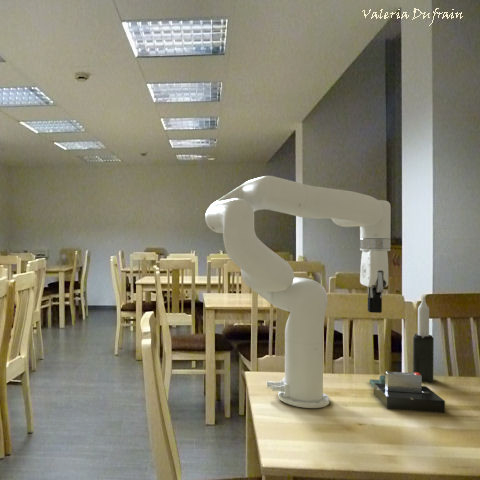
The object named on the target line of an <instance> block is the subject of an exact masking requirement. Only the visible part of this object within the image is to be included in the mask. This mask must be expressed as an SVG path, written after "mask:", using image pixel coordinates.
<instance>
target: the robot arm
mask: <svg viewBox="0 0 480 480" xmlns="http://www.w3.org/2000/svg"><path fill="white" fill-rule="evenodd" d="M261 210H262V211H263V210H266V211H267V210H268V211H272V212H278V213H282V214H286V215H291V216H295V217H299V218H304V219H313V220H314V219H316V220H318V219H319V220H320V219H330V220H331V221H332V222H333V223H334V224H335V225H336V226H339V227H343V228H352V227H353V228H354V227H359V251H361V258H360V270H359V271H360V273H359V283H360V284H361V285H362V286H364V287H366V289H367V312H369V313H371V314H372V313H374V314H375V313H376V314H381V313H382V312H383V293H384V288H387V287H388V286H389V257H388V256H389V255H388V252H391V232H392V231H391V229H392V228H391V220H392V218H391V217H392V216H391V213H392V212H391V211H392V209H391V203H390V202H389V201H388V200H384V199H377V198H375V197H373V196H371V195H368V194H364V193H361V192H356V191H352V190H345V189H338V188H330V187H329V188H328V187H323V186H316V185H315V186H314V185H309V184H306V183H301V182H298V181H294V180H290V179H286V178H282V177H279V176H274V175H264V176H263V175H262V176H260V177H256V178H253V179H249V180H247V181H245V182H243V183H242V184H241V185H239V186H237V187H235V188H234V189H233V190H232V191H230V192H228V193H226V194H225V195H223V196H222V197H220V198H219V199H217V200H216V201H214V202H213V203H211V204H210V205H209V206H208V207H207V210H206V212H205V215H204V217H205V223H206V225H207V227H208V229H210V231H212V232H214V233H217V234H222V237H223V238H222V239H223V244H224V245H223V246H224V249H225V253H226V255H227V256H228V259H230V260H231V261H232V262H233V263H234V265H236V266H237V267H238V268H239V269H240V273H241V274H240V276H241V278H242V280H243V282H244V283H245V285H246V286H247V287H248V288H250V289H251V290H252V291H254V293H256V294H258V295H259V296H260V297H261V298H262V299H264V300H265V301H266V302H268V303H270V304H271V305H272V306H274V307H275V308H277V309H280V310H283V311H285V312H289V314H288V318H287V320H286V323H285V327H284V377H282V380H278V381H271V380H266V389H269V390H271V392H278V399H279V400H280V401H281V402H283V403H285V404H287V405H289V406H292V407H297V408H303V409H320V408H325V407H326V406H328V405H329V404H330V397H329V396H328V394H326V393H324V329H325V328H324V327H325V326H324V325H325V318H326V312H327V308H328V301H329V300H328V298H329V297H328V293H327V290H326V289H325V287H324V286H323V285H322V284H321V283H320V282H319V281H316V280H314V279H311V278H305V277H299V276H295V273H294V270H293V268H292V266H291V265H290V263H289V262H288V261H287V260H286V259H285V258H283V257H282V256H280V255H278V254H277V253H276V252H275V251H273V250H272V249H271V248H270V247H268V246H267V245H266V244H264V242H262V240H261V239H259V237H258V236H257V234H256V230H255V212H257V211H261Z"/></svg>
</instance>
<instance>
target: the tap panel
mask: <svg viewBox="0 0 480 480" xmlns="http://www.w3.org/2000/svg"><path fill="white" fill-rule="evenodd" d="M373 395H374V396H375V397H376V398H377V399H378V401H379V402H380V403H381V404H382V405H383V407H385V408H386V410H394V411H395V410H396V411H409V412H411V411H412V412H423V413H439V414H445V413H446V407H445V406H446V400H444V399H443V398H442V397H440V395H438V394H437V393H435V392H434V391H433V390H432V389H430V388H429V387H428V386H426V385H422V393H409V392H394V391H387V390H386V389H385V384H380V383H374V387H373Z"/></svg>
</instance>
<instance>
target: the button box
mask: <svg viewBox="0 0 480 480" xmlns="http://www.w3.org/2000/svg"><path fill="white" fill-rule="evenodd" d="M378 378H379V379H372V378H371V379H369V384H370V386H371V387H372V388H374V383H380V384H385V374H382V375H380V376H379V377H378Z"/></svg>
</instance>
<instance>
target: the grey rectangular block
mask: <svg viewBox="0 0 480 480" xmlns="http://www.w3.org/2000/svg"><path fill="white" fill-rule="evenodd" d="M384 375H385V389H386V390H387V391H394V392H409V393H422V386H423V385H422V383H423V382H422V376H421V374H419V373H417V372H414V373H413V372H400V371H385V374H384Z"/></svg>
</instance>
